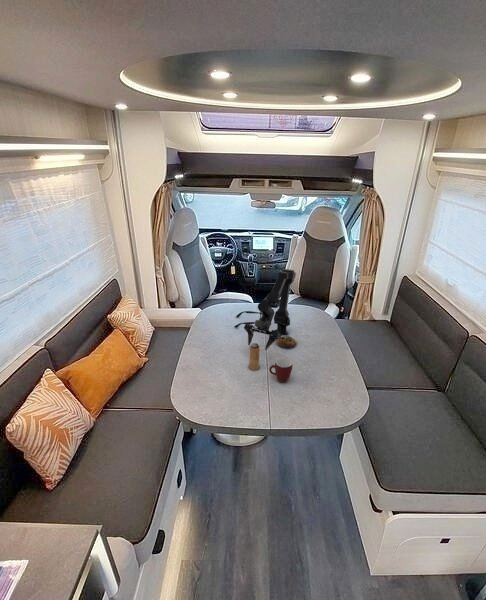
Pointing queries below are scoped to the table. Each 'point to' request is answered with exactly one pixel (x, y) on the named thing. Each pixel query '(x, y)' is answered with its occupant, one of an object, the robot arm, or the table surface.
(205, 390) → the table surface
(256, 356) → the pepper mill
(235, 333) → the table surface
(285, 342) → the bread roll
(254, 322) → the glasses
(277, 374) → the mug
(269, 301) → the robot arm
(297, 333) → the table surface
